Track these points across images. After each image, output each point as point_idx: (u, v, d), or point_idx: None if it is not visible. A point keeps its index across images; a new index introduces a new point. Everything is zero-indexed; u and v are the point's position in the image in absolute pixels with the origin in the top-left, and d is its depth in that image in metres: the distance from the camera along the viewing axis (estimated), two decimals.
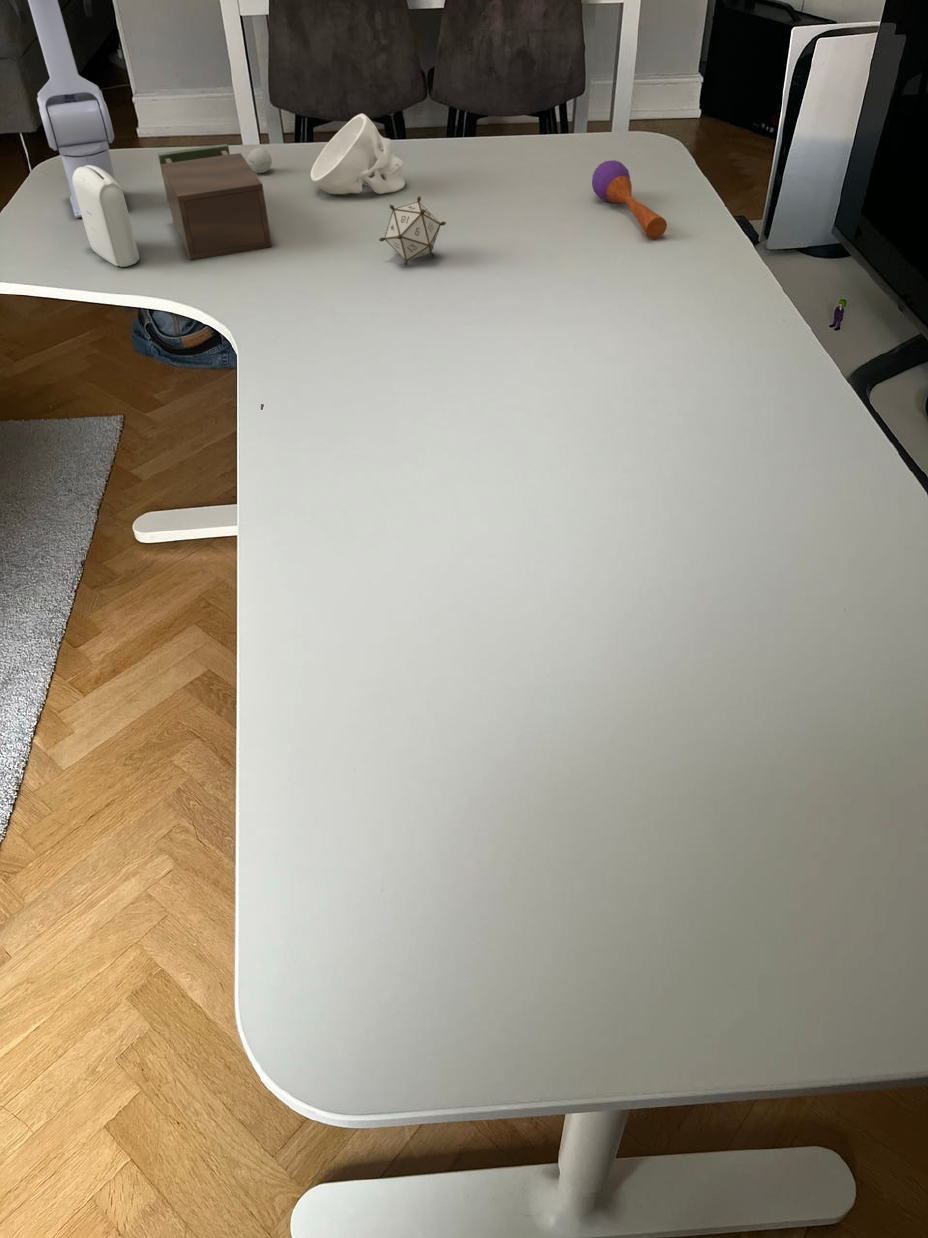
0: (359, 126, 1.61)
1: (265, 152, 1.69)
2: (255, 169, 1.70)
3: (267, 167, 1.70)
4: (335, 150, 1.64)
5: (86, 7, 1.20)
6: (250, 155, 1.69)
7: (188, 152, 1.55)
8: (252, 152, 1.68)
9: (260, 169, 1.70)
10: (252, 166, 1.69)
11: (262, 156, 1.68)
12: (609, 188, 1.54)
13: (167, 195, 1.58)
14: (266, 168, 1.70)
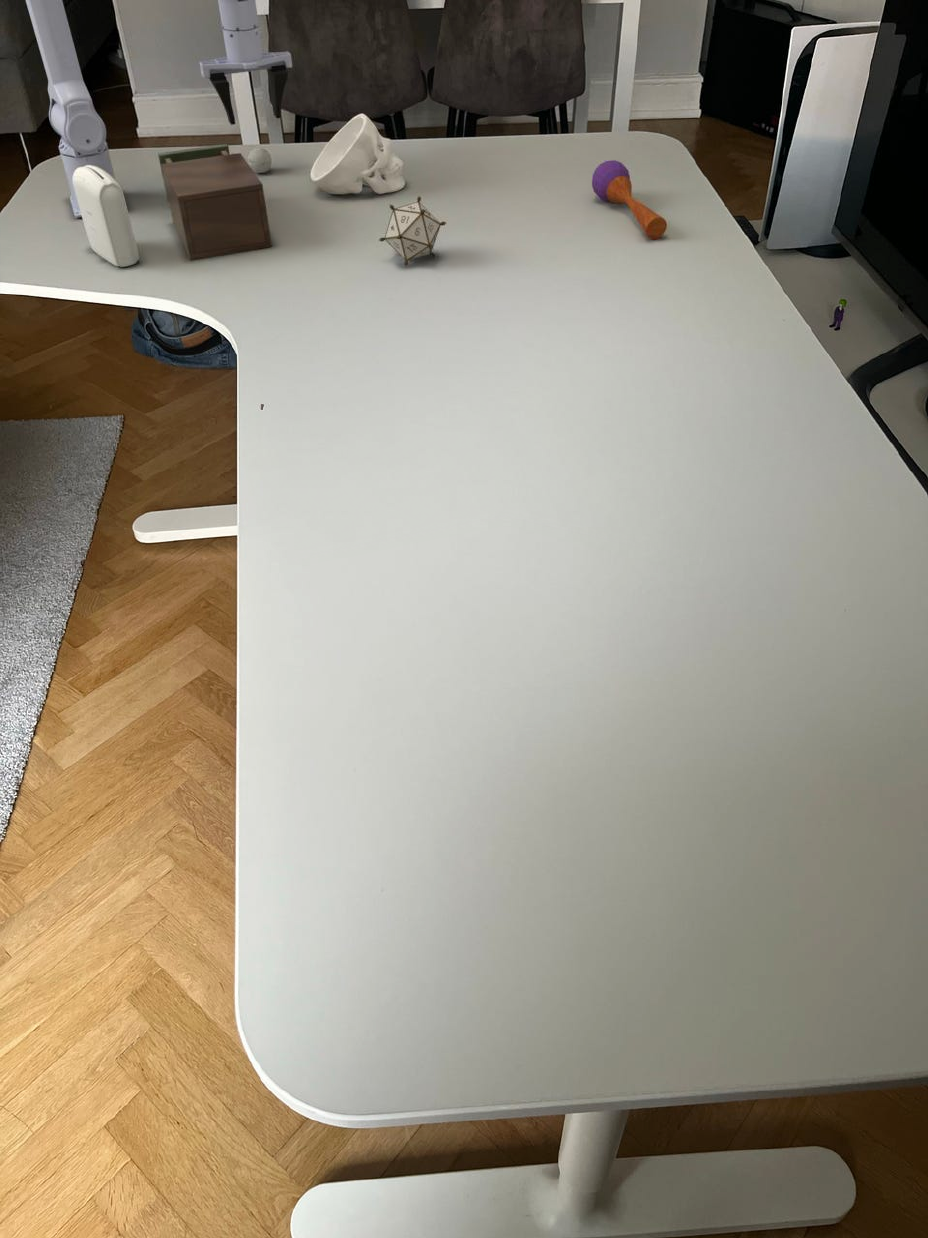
0: (359, 126, 1.61)
1: (265, 152, 1.69)
2: (255, 169, 1.70)
3: (267, 167, 1.70)
4: (335, 150, 1.64)
5: (277, 117, 1.66)
6: (250, 155, 1.69)
7: (188, 152, 1.55)
8: (252, 152, 1.68)
9: (260, 169, 1.70)
10: (252, 166, 1.69)
11: (262, 156, 1.68)
12: (609, 188, 1.54)
13: (167, 195, 1.58)
14: (266, 168, 1.70)
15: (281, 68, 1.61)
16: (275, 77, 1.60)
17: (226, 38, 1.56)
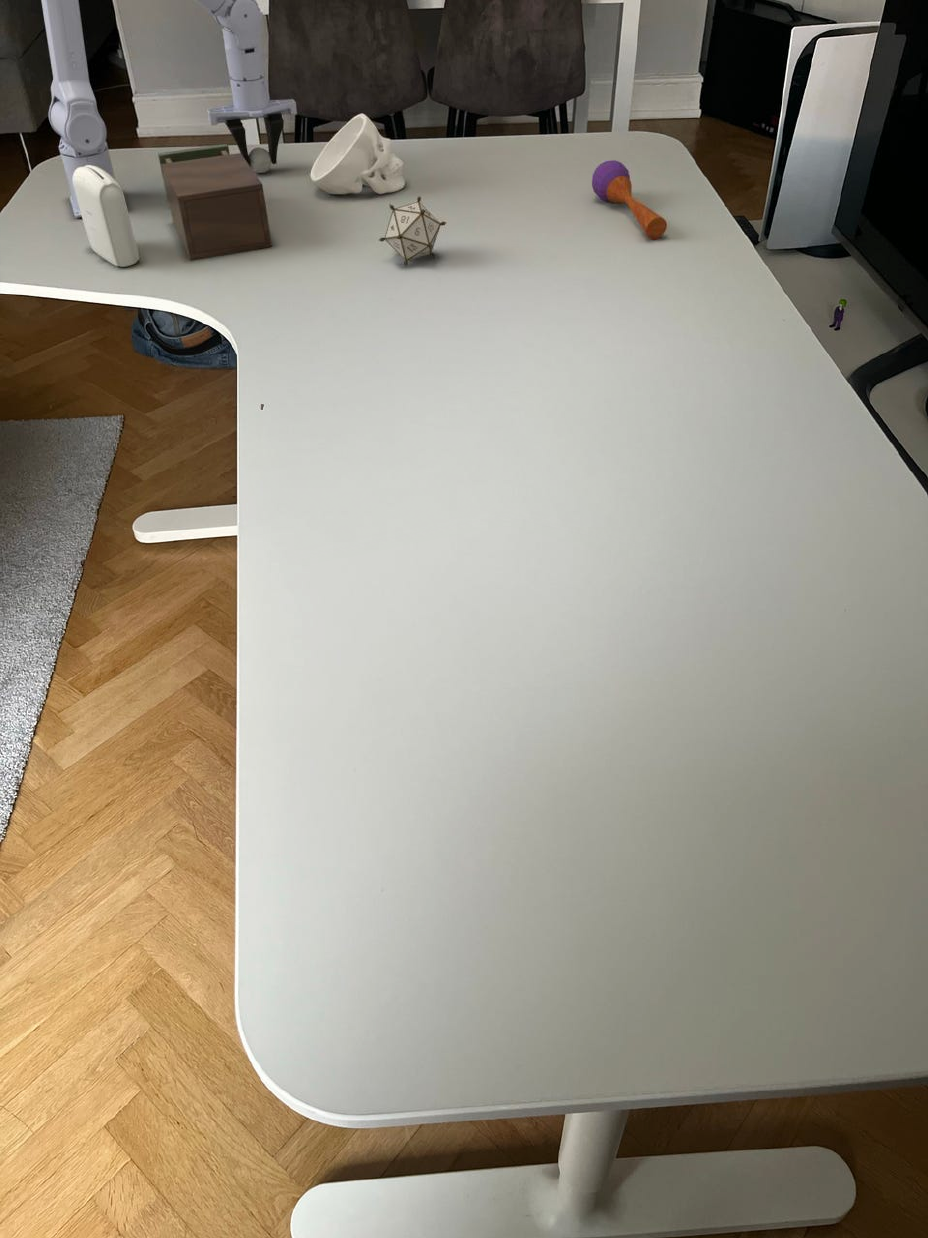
0: (359, 126, 1.61)
1: (265, 152, 1.69)
2: (255, 169, 1.70)
3: (267, 167, 1.70)
4: (335, 150, 1.64)
5: None
6: (250, 155, 1.69)
7: (188, 152, 1.55)
8: (252, 152, 1.68)
9: (260, 169, 1.70)
10: (252, 166, 1.69)
11: (262, 156, 1.68)
12: (609, 188, 1.54)
13: (167, 195, 1.58)
14: (266, 168, 1.70)
15: (277, 116, 1.66)
16: (271, 125, 1.65)
17: (233, 87, 1.61)
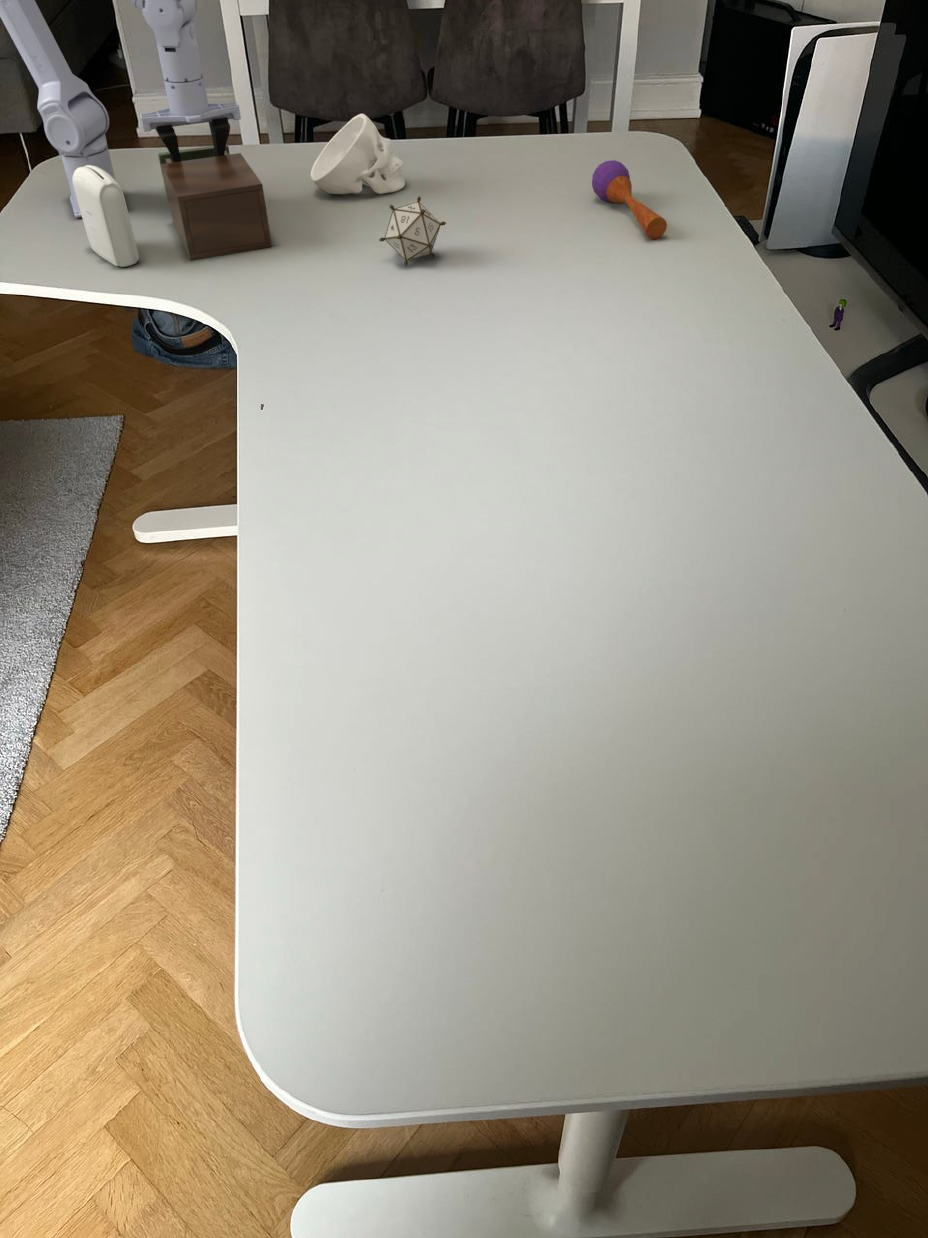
0: (359, 126, 1.61)
1: None
2: None
3: None
4: (335, 150, 1.64)
5: None
6: None
7: (188, 152, 1.55)
8: None
9: None
10: None
11: None
12: (609, 188, 1.54)
13: (167, 195, 1.58)
14: None
15: (223, 121, 1.50)
16: (216, 131, 1.49)
17: (167, 90, 1.44)
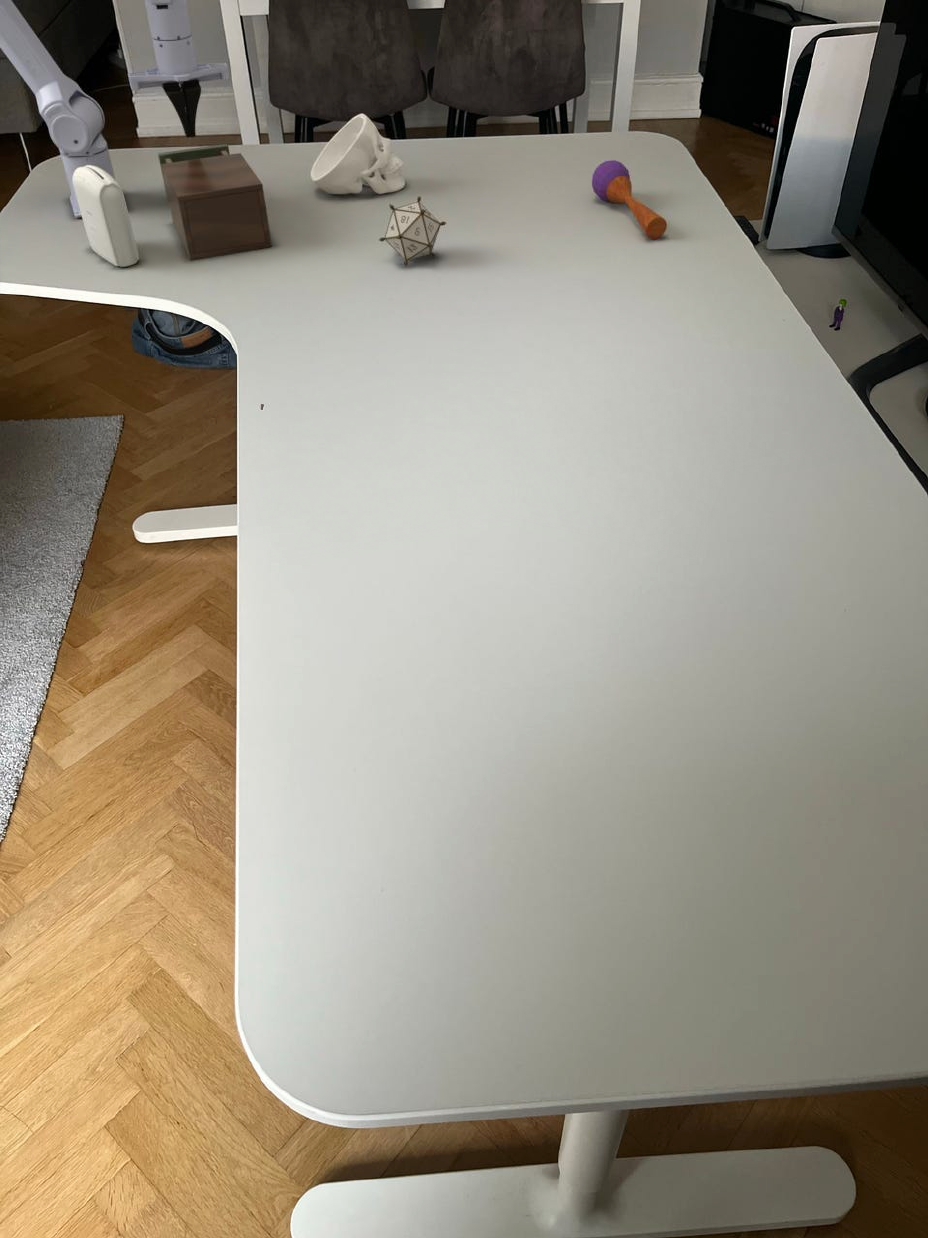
0: (359, 126, 1.61)
1: None
2: None
3: None
4: (335, 150, 1.64)
5: None
6: None
7: (188, 152, 1.55)
8: None
9: None
10: None
11: None
12: (609, 188, 1.54)
13: (167, 195, 1.58)
14: None
15: (194, 83, 1.49)
16: (187, 93, 1.48)
17: (156, 48, 1.44)
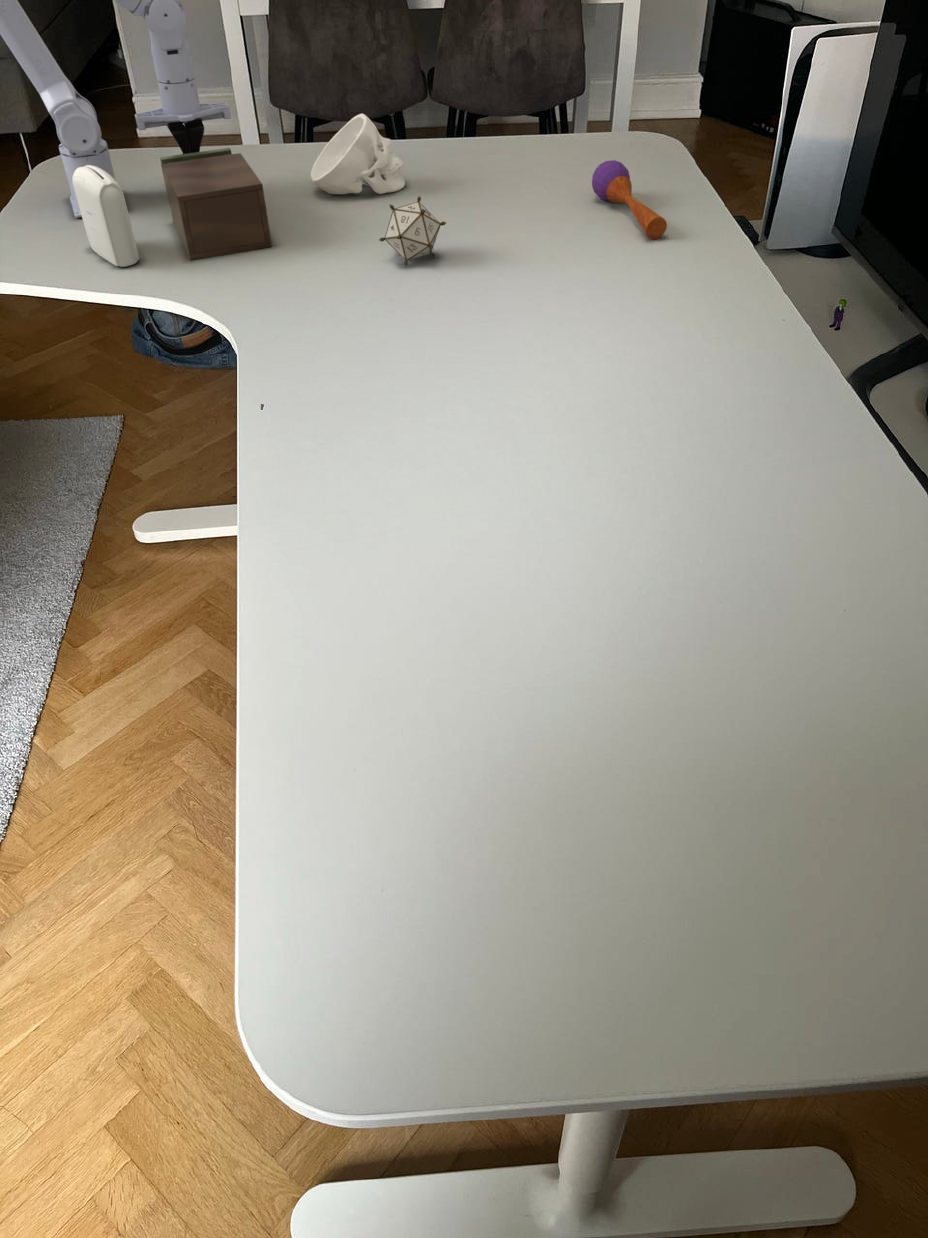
0: (359, 126, 1.61)
1: None
2: None
3: None
4: (335, 150, 1.64)
5: None
6: None
7: (190, 156, 1.54)
8: None
9: None
10: None
11: None
12: (609, 188, 1.54)
13: None
14: None
15: (197, 122, 1.57)
16: (191, 132, 1.56)
17: (161, 90, 1.52)
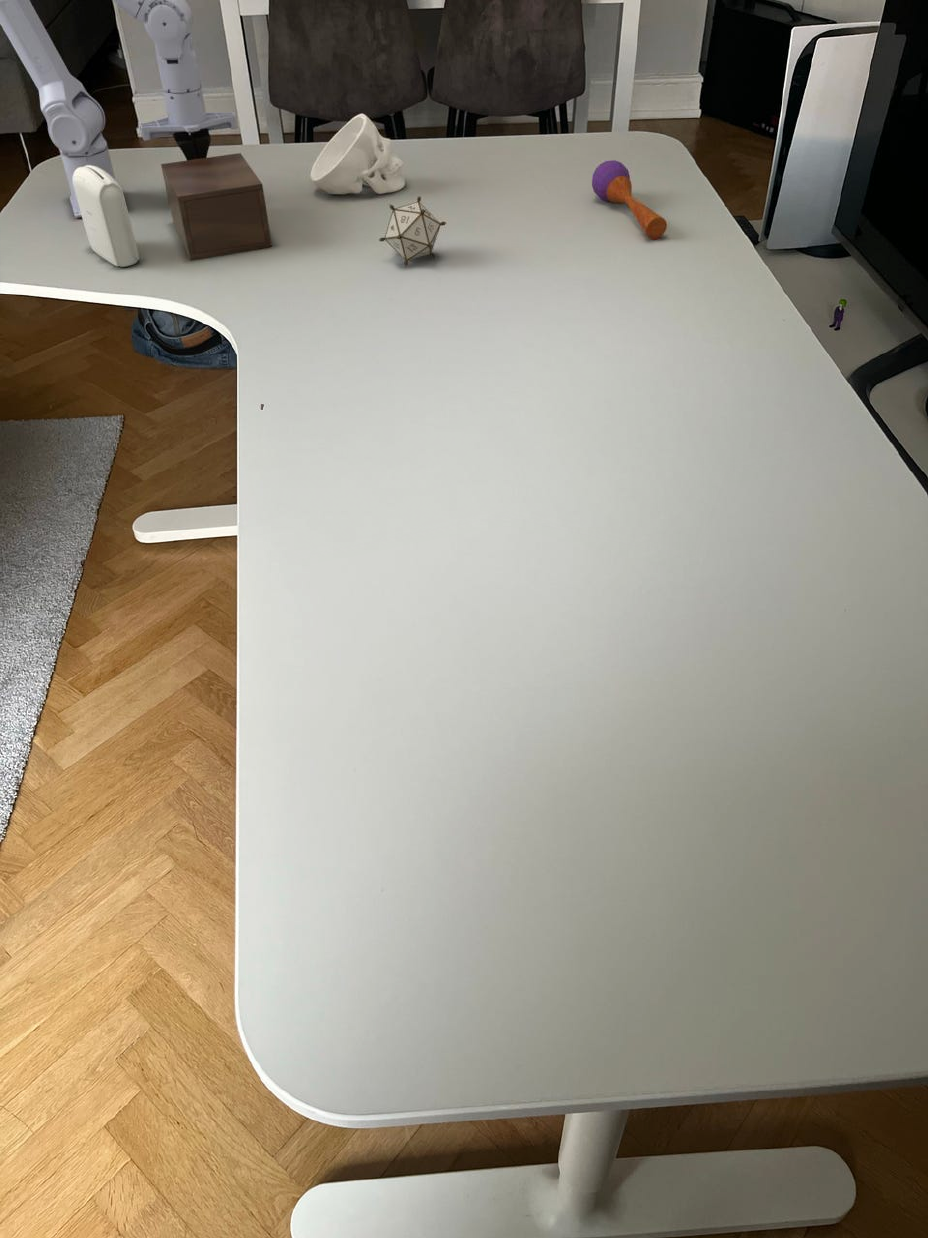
0: (359, 126, 1.61)
1: None
2: None
3: None
4: (335, 150, 1.64)
5: None
6: None
7: None
8: None
9: None
10: None
11: None
12: (609, 188, 1.54)
13: None
14: None
15: (204, 132, 1.54)
16: (197, 142, 1.52)
17: (167, 100, 1.49)
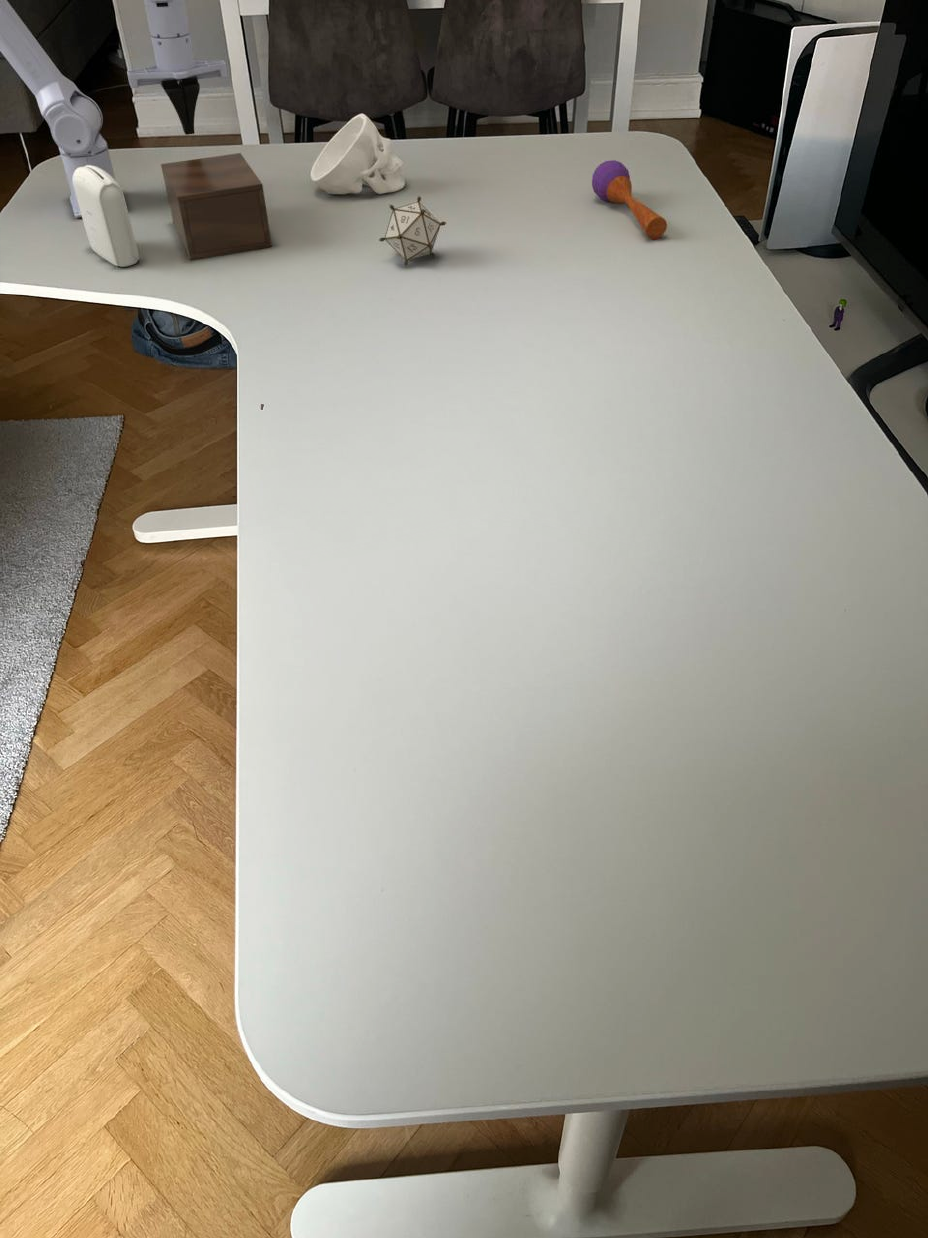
0: (359, 126, 1.61)
1: None
2: None
3: None
4: (335, 150, 1.64)
5: None
6: None
7: None
8: None
9: None
10: None
11: None
12: (609, 188, 1.54)
13: None
14: None
15: (193, 81, 1.50)
16: (185, 90, 1.49)
17: (154, 46, 1.45)
